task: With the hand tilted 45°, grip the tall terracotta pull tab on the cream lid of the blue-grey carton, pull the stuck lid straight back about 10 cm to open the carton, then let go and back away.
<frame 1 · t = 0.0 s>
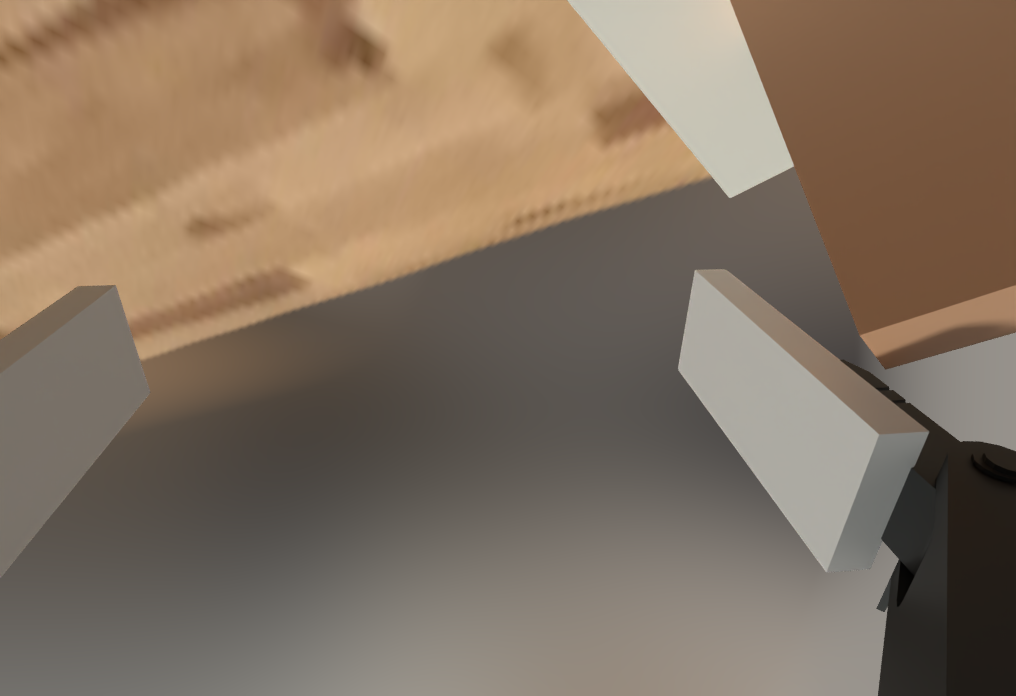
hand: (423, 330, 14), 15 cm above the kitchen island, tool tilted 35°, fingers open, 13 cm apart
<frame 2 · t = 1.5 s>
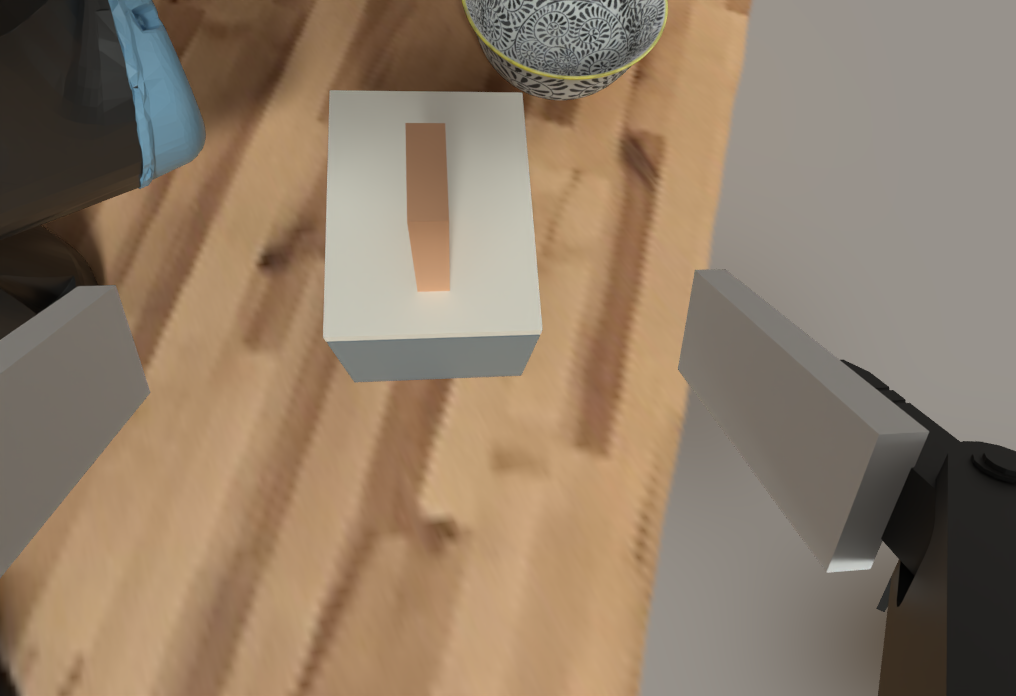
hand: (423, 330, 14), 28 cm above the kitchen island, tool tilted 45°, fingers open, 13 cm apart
lid: (428, 169, 31), point 14 cm above the kitchen island, slide at 0.0 cm
carton: (435, 276, 44), on the kitchen island
bowl: (549, 66, 51), on the kitchen island
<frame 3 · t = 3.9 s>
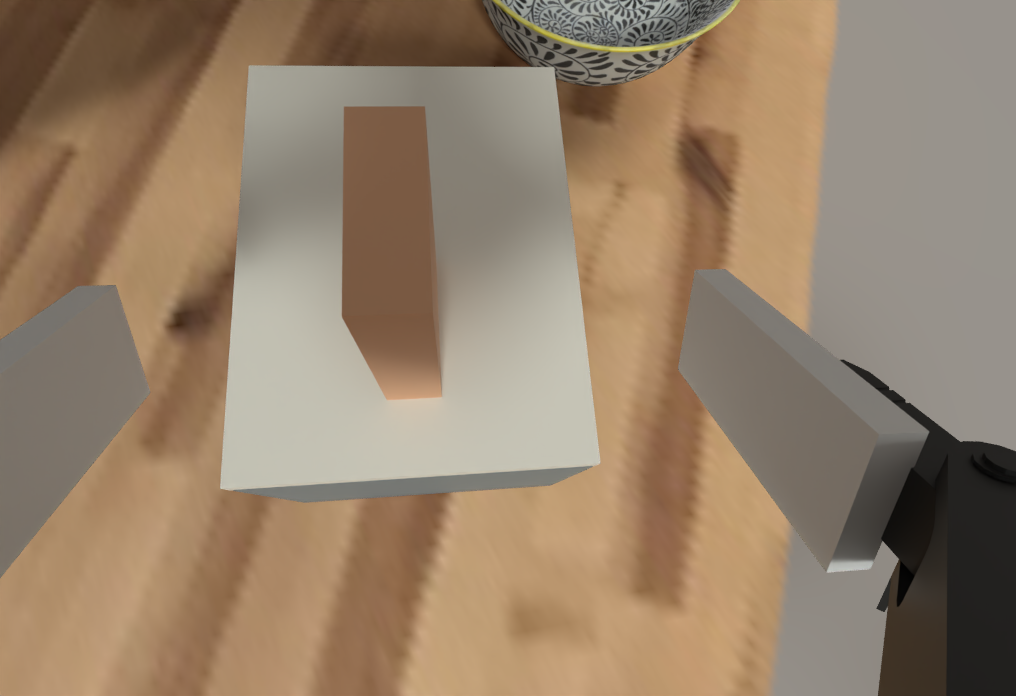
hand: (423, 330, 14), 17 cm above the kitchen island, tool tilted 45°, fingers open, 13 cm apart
lid: (401, 193, 17), point 14 cm above the kitchen island, slide at 0.0 cm
carton: (425, 339, 31), on the kitchen island
bowl: (578, 43, 38), on the kitchen island
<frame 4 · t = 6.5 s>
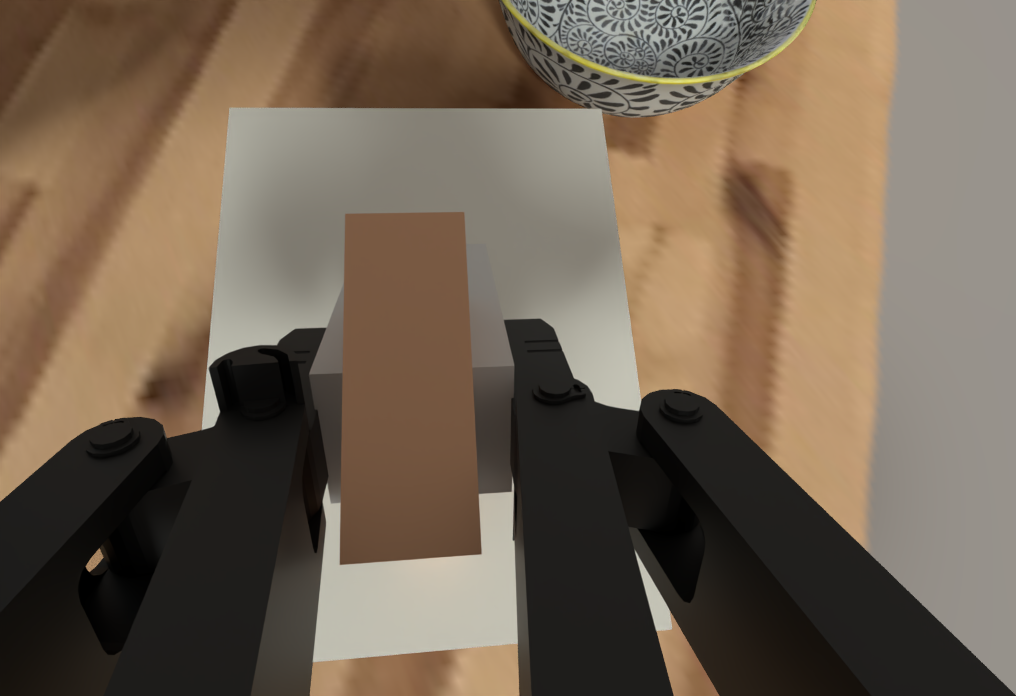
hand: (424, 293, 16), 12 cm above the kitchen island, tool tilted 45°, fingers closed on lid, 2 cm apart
lid: (420, 293, 13), point 14 cm above the kitchen island, slide at 0.0 cm, touching gripper
bowl: (610, 65, 34), on the kitchen island
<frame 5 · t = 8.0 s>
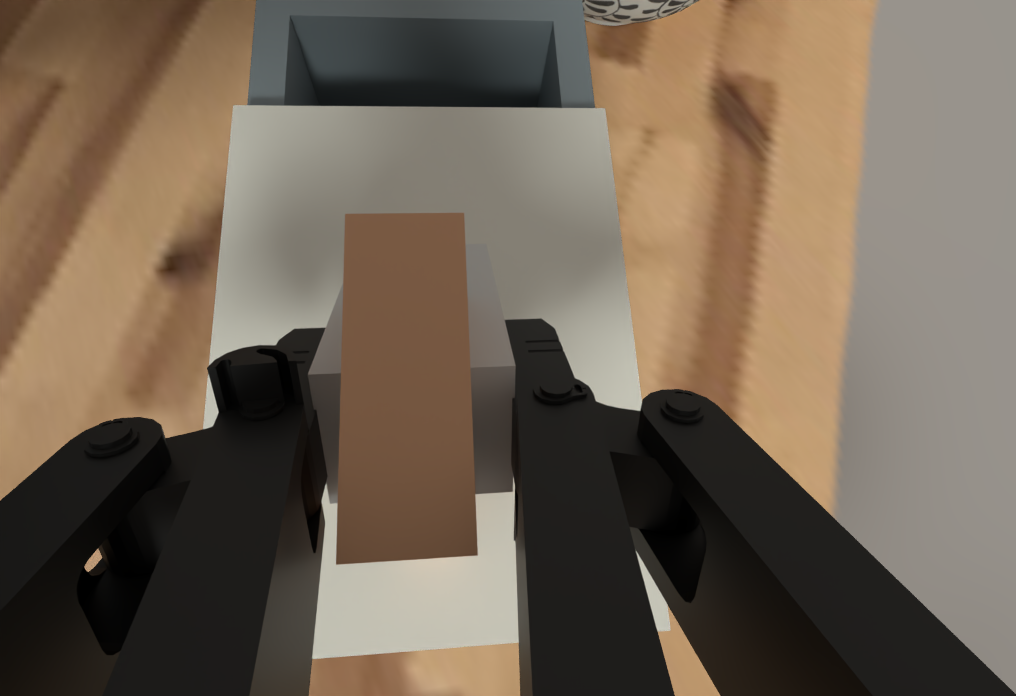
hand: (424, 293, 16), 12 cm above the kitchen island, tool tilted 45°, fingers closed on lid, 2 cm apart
lid: (421, 292, 13), point 14 cm above the kitchen island, slide at 6.0 cm, touching gripper
carton: (437, 289, 28), on the kitchen island
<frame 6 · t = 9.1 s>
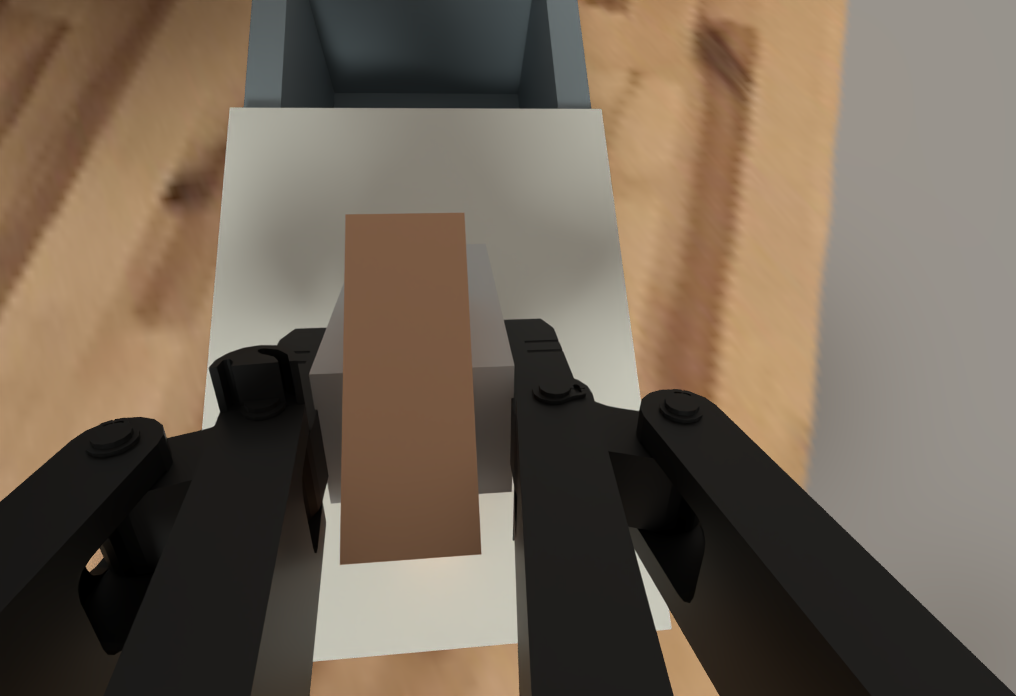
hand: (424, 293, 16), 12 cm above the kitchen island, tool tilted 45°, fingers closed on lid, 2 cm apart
lid: (421, 293, 13), point 14 cm above the kitchen island, slide at 10.0 cm, touching gripper
carton: (432, 217, 30), on the kitchen island
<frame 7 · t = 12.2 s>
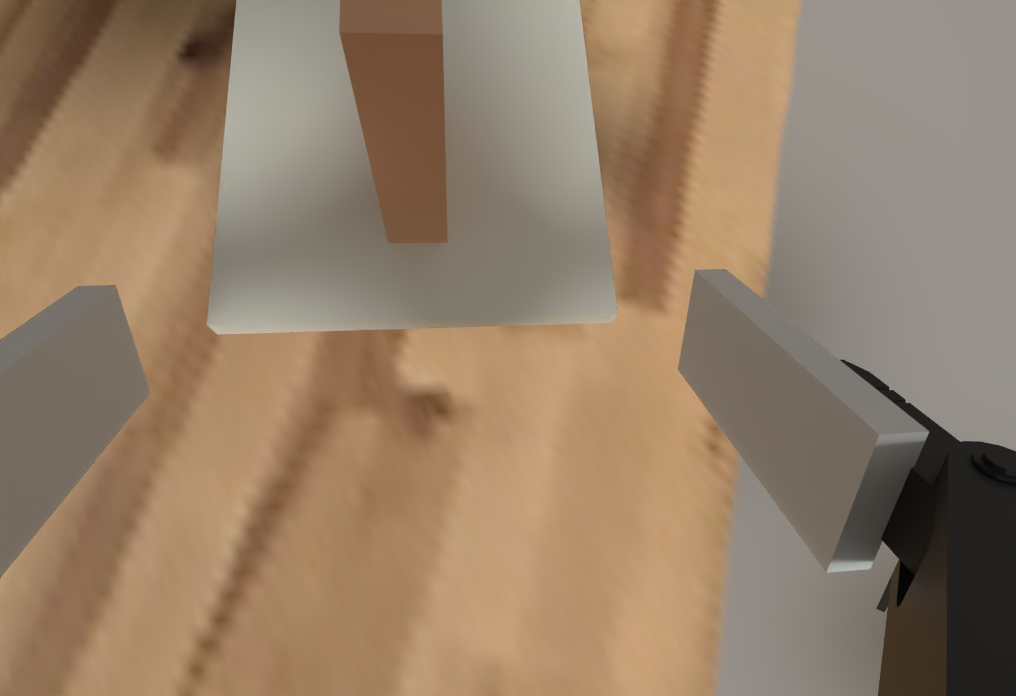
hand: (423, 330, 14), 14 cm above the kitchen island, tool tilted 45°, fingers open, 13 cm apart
lid: (407, 1, 16), point 14 cm above the kitchen island, slide at 10.1 cm
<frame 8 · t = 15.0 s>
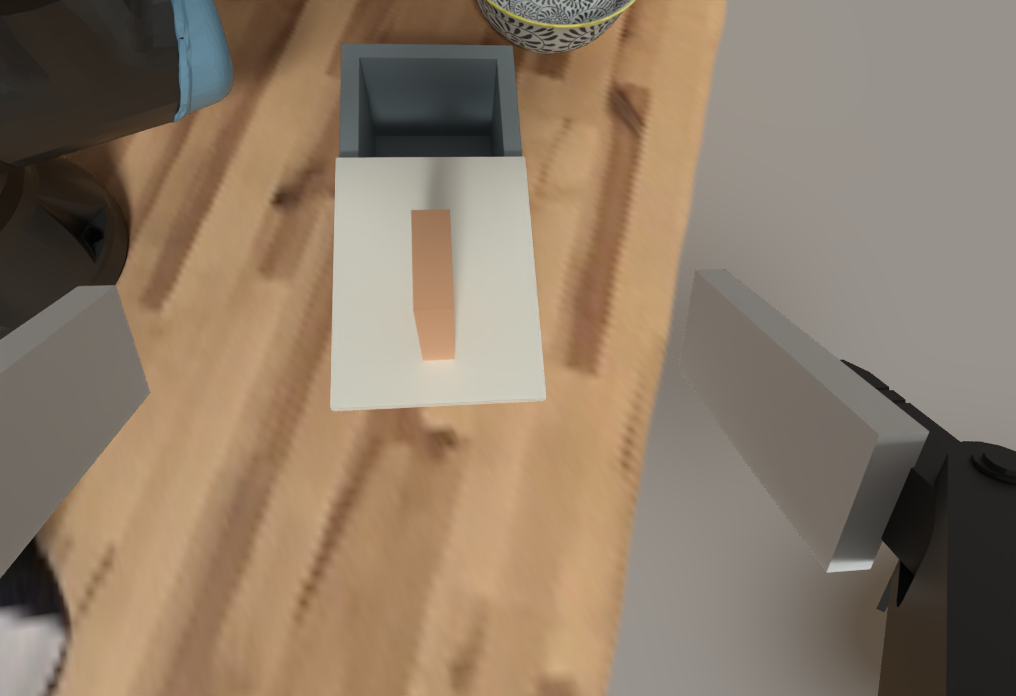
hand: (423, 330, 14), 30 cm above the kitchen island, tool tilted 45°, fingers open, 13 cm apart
lid: (433, 243, 31), point 14 cm above the kitchen island, slide at 10.1 cm
carton: (436, 213, 48), on the kitchen island
bowl: (542, 26, 55), on the kitchen island
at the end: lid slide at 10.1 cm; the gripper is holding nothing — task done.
